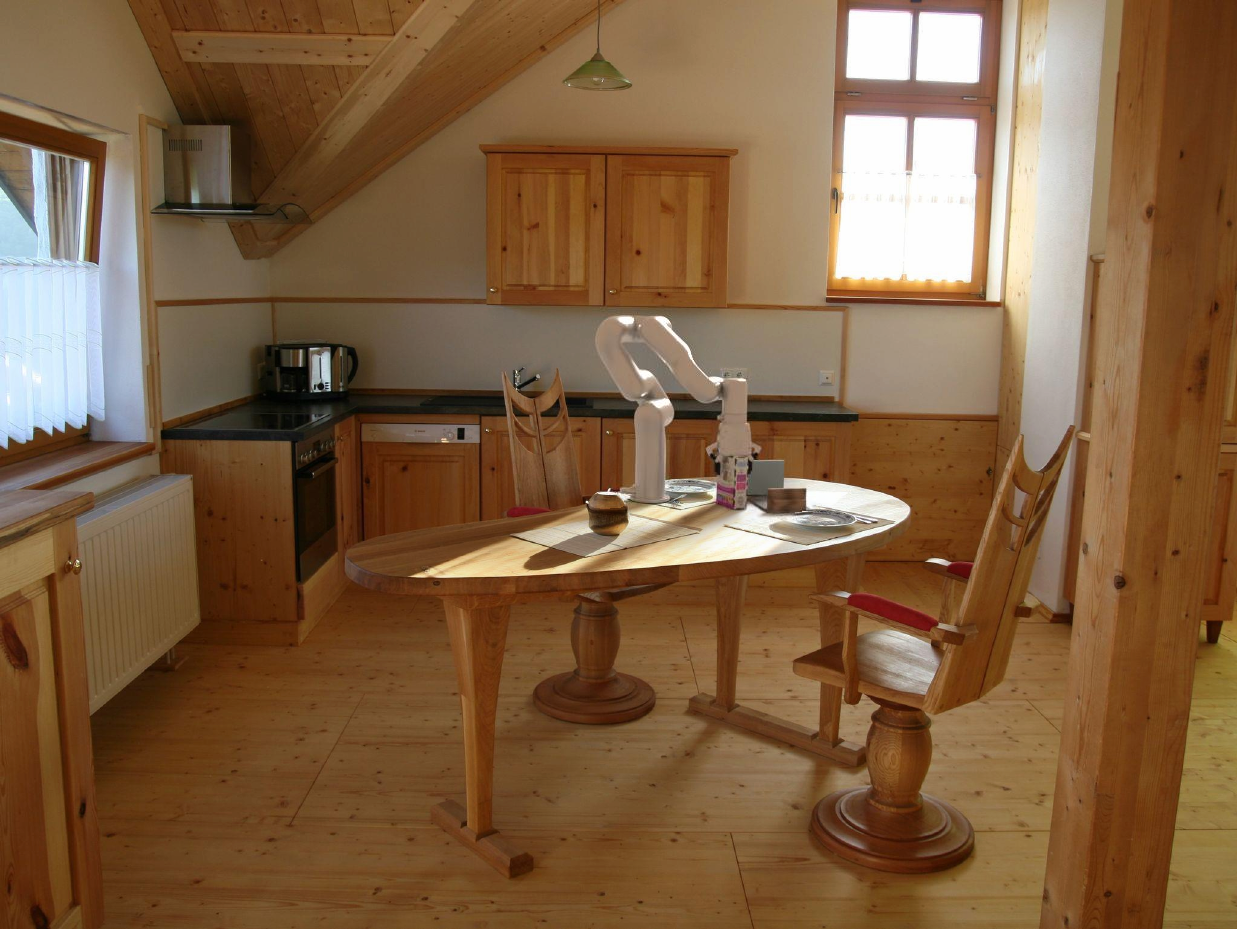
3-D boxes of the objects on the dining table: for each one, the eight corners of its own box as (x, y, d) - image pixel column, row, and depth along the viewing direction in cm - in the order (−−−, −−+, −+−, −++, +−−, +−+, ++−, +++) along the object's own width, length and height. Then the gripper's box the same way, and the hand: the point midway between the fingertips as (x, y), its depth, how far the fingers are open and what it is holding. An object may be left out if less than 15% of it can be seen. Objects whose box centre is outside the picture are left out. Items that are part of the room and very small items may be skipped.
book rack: (768, 513, 321) (769, 491, 320) (746, 499, 343) (747, 478, 342) (812, 512, 324) (813, 490, 323) (788, 498, 345) (789, 477, 344)
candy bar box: (747, 509, 328) (749, 456, 325) (733, 510, 326) (735, 457, 323) (729, 502, 338) (730, 451, 335) (715, 503, 336) (716, 451, 333)
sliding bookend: (747, 494, 345) (748, 461, 343) (739, 489, 354) (740, 456, 352) (783, 494, 347) (784, 460, 345) (774, 488, 356) (775, 456, 354)
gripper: (710, 420, 322) (709, 476, 325) (765, 419, 325) (763, 475, 328) (703, 417, 329) (702, 472, 332) (757, 417, 332) (756, 471, 335)
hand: (733, 474), depth 330 cm, fingers open, 9 cm apart
